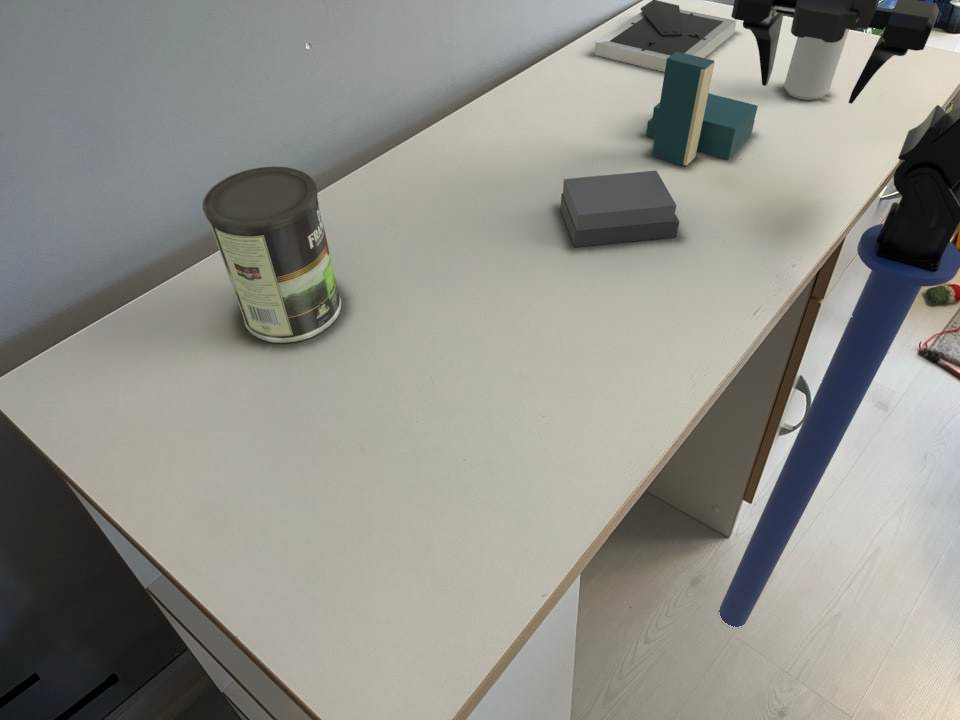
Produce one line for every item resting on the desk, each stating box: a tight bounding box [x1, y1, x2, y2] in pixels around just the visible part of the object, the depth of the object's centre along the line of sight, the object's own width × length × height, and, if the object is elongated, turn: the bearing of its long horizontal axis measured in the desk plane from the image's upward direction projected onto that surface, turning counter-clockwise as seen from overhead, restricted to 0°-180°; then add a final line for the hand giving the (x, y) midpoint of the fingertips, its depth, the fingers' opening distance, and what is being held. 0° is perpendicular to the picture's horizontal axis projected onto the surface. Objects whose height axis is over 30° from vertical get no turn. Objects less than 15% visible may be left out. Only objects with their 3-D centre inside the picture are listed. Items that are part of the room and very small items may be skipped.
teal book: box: [651, 51, 716, 167], centre depth 91 cm, size 5×3×13 cm, turn 52°
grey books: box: [560, 170, 680, 248], centre depth 83 cm, size 12×8×4 cm, turn 97°
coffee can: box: [202, 166, 342, 344], centre depth 70 cm, size 10×10×14 cm
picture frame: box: [594, 0, 738, 73], centre depth 121 cm, size 16×3×21 cm
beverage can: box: [783, 29, 850, 101], centre depth 103 cm, size 6×6×12 cm
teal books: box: [645, 93, 759, 160], centre depth 98 cm, size 12×8×4 cm
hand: (807, 93), depth 79 cm, fingers open, 9 cm apart
